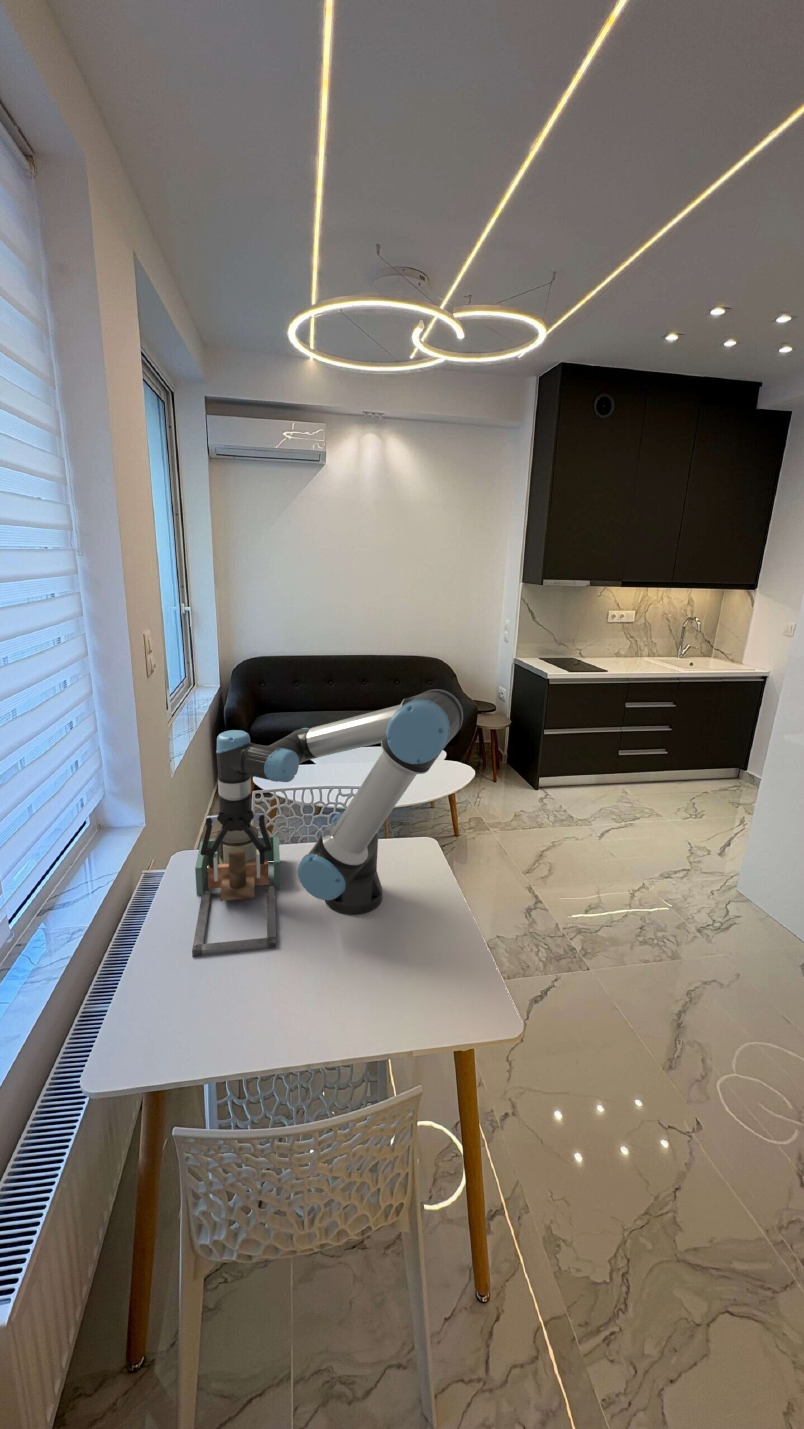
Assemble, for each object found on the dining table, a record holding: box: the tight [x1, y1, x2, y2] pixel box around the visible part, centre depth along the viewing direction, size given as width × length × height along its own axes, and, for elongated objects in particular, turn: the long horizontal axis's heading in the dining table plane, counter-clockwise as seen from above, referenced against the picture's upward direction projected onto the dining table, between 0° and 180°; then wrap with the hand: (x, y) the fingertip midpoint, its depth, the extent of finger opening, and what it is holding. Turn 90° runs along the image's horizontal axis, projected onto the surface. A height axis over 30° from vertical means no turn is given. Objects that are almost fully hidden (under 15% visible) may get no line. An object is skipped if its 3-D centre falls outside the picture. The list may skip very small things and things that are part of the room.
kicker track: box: [191, 885, 277, 958], centre depth 141 cm, size 18×23×2 cm
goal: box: [194, 834, 281, 896], centre depth 158 cm, size 21×15×8 cm
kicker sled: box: [207, 848, 269, 901], centre depth 148 cm, size 15×7×12 cm, turn 103°
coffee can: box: [217, 824, 259, 864], centre depth 156 cm, size 10×10×14 cm
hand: (237, 876), depth 147 cm, fingers open, 9 cm apart
